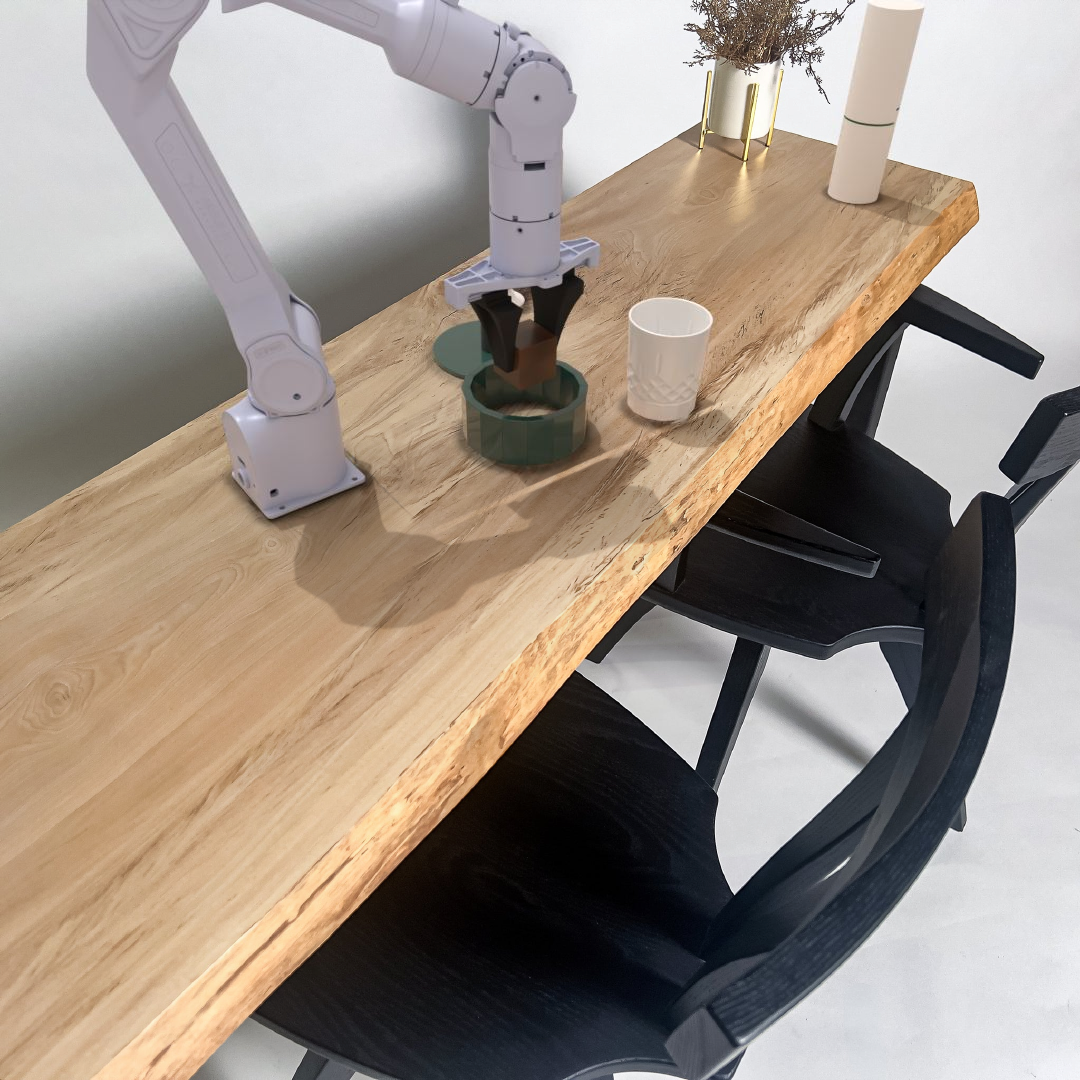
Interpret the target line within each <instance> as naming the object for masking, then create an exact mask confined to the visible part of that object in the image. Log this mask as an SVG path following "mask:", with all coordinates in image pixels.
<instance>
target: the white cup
mask: <svg viewBox="0 0 1080 1080" xmlns="http://www.w3.org/2000/svg"><path fill="white" fill-rule="evenodd" d="M627 320H628V322H627V323H628V324H627V350H626V351H627V353H626V383H627V399H626V400H627V403H626V405H627V406H628V407H629V408H630V410H631V411H632V412H633V413H634V414H636V415H638V416H641V417H643V418H644V419H647V420H653V421H659V422H667V421H672V422H670V423H669V425H673V424H678V423H680V422H683V421H686V420H688V419H689V418H690V417H691V415H692V412H693V410H695V408H696V401H697V396H698V391H699V387H700V385H701V381H702V377H703V371H704V368H705V363H706V358H707V353H708V349H709V342H710V337H711V333H712V327H713V324H714V318H713V315H712V313H711V312H710V311H709V310H708V309H707V308H706V307H704V306H703V305H701V304H699V303H697V302H694V301H691V300H688V299H683V298H678V297H668V296H667V297H665V296H664V297H663V296H662V297H653V298H648V299H644V300H642V301H639V302H637V303H636V304H633V306H631V308H630V309H629V311H628V319H627Z"/></svg>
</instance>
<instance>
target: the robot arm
mask: <svg viewBox="0 0 1080 1080" xmlns="http://www.w3.org/2000/svg"><path fill="white" fill-rule="evenodd" d="M220 1H221V2H220V3H221V13H222V14H229V13H233V12H236V11H239V10H240V11H241V10H243V9H248V8H249V7H254V6H257V5H259V4H262V3H268V4H272V5H276V6H277V7H281V8H284V9H286V10H288V11H291V12H293V13H295V14H298V15H301V16H303V17H306V18H308V19H310V20H314V21H316V22H319V23H321V24H323V25H326V26H328V27H331V28H333V29H335V30H339V31H341V32H343V33H346V34H348V35H351V36H352V37H356V38H358V39H361V40H364V41H366V42H369V43H371V44H373V45H376V46H379V47H381V48H382V50H383V52H384V55H385V58H386V60H387V62H388V65H389V67H390V69H391V71H392V72H393V74H394V75H396V76H398V77H401V78H403V79H404V80H408V81H410V82H412V83H414V84H417V85H419V86H421V87H423V88H426V89H427V90H431V91H432V92H435V93H437V94H440V95H441V96H444V97H446V98H448V99H451V100H453V101H455V102H458V103H460V104H462V105H466V106H467V107H469V108H471V109H474V110H491V111H490V112H489V146H488V151H487V153H488V156H487V157H488V203H489V204H488V205H489V208H488V211H489V212H488V213H489V214H488V216H489V217H488V218H489V255H488V256H486V257H485V258H483V259H481V260H480V261H477V263H475V264H473V265H471V266H469V267H468V268H466V269H465V270H463V271H461V272H459V273H458V274H454V275H452V276H450V277H446V278H444V279H443V283H444V284H443V285H444V287H443V288H444V301H445V302H446V303H447V304H448V305H450V306H451V307H452V308H454V309H456V311H461V310H464V309H467V308H468V307H469V304H470V306H471V308H472V309H473V311H474V313H475V315H476V316H477V318H478V319H477V320H480V322H481V325H482V327H483V329H484V332H485V334H486V337H487V340H488V343H489V346H490V349H491V353H492V357H493V361H494V365H496V366H497V367H499V368H500V369H501V370H503V371H504V372H505V373H509V372H512V371H513V368H514V362H515V343H516V334H517V329H518V324H519V322H521V317H522V315H523V312H524V308H522V306H520V307H519V306H518V305H516V304H515V303H513V302H512V297H511V296H509V295H508V290H510V289H513V290H514V289H519V288H520V289H521V288H528V287H529V288H530V289H529V290H530V293H531V300H532V309H533V321H534V322H536V323H537V324H539V325H540V326H542V327H543V328H545V329H546V330H548V331H549V332H551V333H552V334H554V335H555V336H557V347H558V346H559V343H560V339H561V336H562V333H563V330H564V328H565V325H566V322H567V321H568V319H569V316H570V315H571V313H572V311H573V309H574V308H575V305H576V304H577V302H578V301H579V299H580V298H581V297H582V296H583V294H584V293H585V281H584V280H583V279H582V278H581V277H579V276H577V275H576V269H579V268H583V267H587V268H589V269H593V268H597V267H599V266H600V263H601V262H600V258H601V244H600V243H598V242H597V241H595V240H593V239H591V238H589V237H587V236H584V237H581V238H575V239H570V240H569V239H568V240H563V241H562V240H561V231H562V230H561V229H562V205H563V203H562V201H563V199H562V198H563V175H564V174H563V173H564V149H563V139H564V128H565V126H566V125H567V124H568V123H569V121H570V119H571V118H572V116H573V114H574V112H575V108H576V104H577V99H578V95H577V94H576V93H574V91H573V83H572V78H571V76H570V73H569V70H568V69H567V68H566V66H565V65H564V63H563V62H562V61H561V60H560V59H559V58H558V57H557V56H556V55H555V54H554V53H553V52H552V51H551V50H550V49H549V48H548V47H547V46H546V45H545V44H544V43H543V42H541V41H540V40H539V39H537V38H535V37H533V36H532V34H531V33H530V32H529V31H528V30H523V29H521V28H520V27H519V26H518V25H517V24H515V23H513V22H511V21H510V20H504V21H503V23H502V25H501V24H498V23H496V22H494V21H492V20H490V19H488V18H487V17H484V16H482V15H480V14H478V13H476V12H475V11H474V12H473V11H472V10H470V9H467V8H466V7H464V6H462V5H459V2H460V0H220ZM209 3H210V0H86V45H85V46H86V47H85V51H86V53H85V54H86V55H85V56H86V57H85V71H86V77H87V79H88V81H89V84H90V87H91V90H92V91H93V92H94V94H95V95H96V97H97V99H98V101H99V102H100V104H101V105H102V108H103V109H104V110H105V112H106V114H107V116H108V117H109V119H110V121H111V122H112V124H113V126H114V127H115V129H116V131H117V133H118V134H119V136H120V137H121V140H122V141H123V142H124V144H125V146H126V147H127V149H128V152H130V154H131V156H132V158H133V159H134V161H135V162H136V165H137V166H138V168H139V169H140V171H141V172H142V173H141V174H142V175H143V176H144V178H145V179H146V181H147V183H148V185H149V186H150V188H151V190H152V192H153V193H154V194H155V197H156V198H157V199H158V201H159V203H160V205H161V206H162V208H163V209H164V211H165V213H166V215H167V216H168V218H169V220H170V221H171V223H172V225H173V226H174V228H175V230H176V232H177V233H178V235H179V237H180V238H181V240H182V241H183V243H184V245H185V246H186V249H187V250H188V251H189V253H190V255H191V257H192V258H193V260H194V262H195V264H196V265H197V266H198V268H199V270H200V271H201V274H202V275H203V277H204V279H205V280H206V281H207V283H208V285H209V287H210V288H211V290H212V292H213V293H214V295H215V297H216V298H217V301H219V303H220V305H221V307H222V309H223V311H224V314H225V316H226V319H227V322H228V325H229V328H230V331H231V333H232V336H233V339H234V343H235V345H236V348H237V350H238V352H239V354H240V355H241V357H242V358H243V360H244V362H245V365H246V371H247V373H246V380H247V390H246V391H247V394H246V396H244V398H243V399H241V400H240V401H239V402H238V403H235V404H234V405H233V406H231V407H229V408H227V409H225V410H224V411H223V412H222V415H221V423H222V428H223V431H224V436H225V440H226V446H227V450H228V454H229V459H230V463H231V467H232V472H231V477H232V478H233V479H234V481H235V482H236V483H237V484H238V485H239V487H240V488H241V489H242V490H243V491H244V492H245V494H246V495H247V496H248V497H249V498H250V500H251V501H252V502H253V503H254V504H255V505H256V506H257V507H258V509H259V510H260V511H261V512H262V514H263V515H264V516H265V517H266V518H267V519H271V520H273V519H276V518H278V517H281V516H284V515H286V514H289V513H291V512H294V511H296V510H299V509H301V508H304V507H306V506H309V505H312V504H313V503H317V502H318V501H321V500H324V499H327V498H329V497H331V496H334V495H337V494H339V493H341V492H344V491H346V490H349V489H351V488H353V487H356V486H359V485H361V484H363V483H365V482H366V475H365V474H364V473H363V472H362V471H361V470H360V469H359V468H358V467H357V466H356V465H354V463H353V462H351V461H350V459H348V457H346V453H345V446H344V440H343V439H344V438H343V432H342V425H341V419H340V409H339V404H338V396H337V389H336V382H335V379H334V377H333V375H332V374H330V372H329V368H328V366H327V365H328V364H326V361H325V355H324V350H323V344H322V343H323V342H322V339H321V338H322V337H321V336H322V327H321V322H320V319H319V317H318V314H317V313H316V312H315V311H314V309H313V308H312V307H311V306H310V305H309V304H308V303H307V302H305V301H303V300H302V299H301V298H299V297H298V296H297V295H296V294H295V293H294V292H293V291H292V289H291V288H290V286H289V284H288V282H287V281H286V279H285V278H284V276H283V275H281V273H279V272H278V271H277V270H275V268H274V266H273V264H272V262H271V260H270V259H269V257H268V255H267V253H266V251H265V249H264V247H263V246H262V244H261V242H260V240H259V238H258V236H257V234H256V233H255V231H254V229H253V227H252V225H251V223H250V221H249V219H248V217H247V216H246V214H245V212H244V209H243V208H242V207H241V205H240V202H239V201H238V199H237V196H235V193H234V192H233V190H232V188H231V186H230V184H229V182H228V181H227V179H226V176H225V175H224V173H223V171H222V170H221V168H220V165H219V164H218V161H217V160H216V158H215V156H214V154H213V152H212V151H211V149H210V147H209V145H208V143H207V141H206V139H205V137H204V135H203V133H202V132H201V130H200V128H199V126H198V124H197V123H196V120H195V119H194V117H193V115H192V113H191V112H190V110H189V108H188V106H187V104H186V102H185V100H184V99H183V97H182V95H181V93H180V91H179V89H178V87H177V86H176V83H175V81H174V80H173V78H172V76H171V71H172V68H173V64H174V62H175V58H176V56H177V53H178V49H179V43H180V42H181V41H182V39H183V38H184V37H185V36H186V35H187V34H188V32H189V31H190V30H191V29H192V28H193V26H194V25H195V24H196V23H197V21H198V20H199V19H200V18H201V16H202V15H203V13H204V12H205V10H206V9H207V8H208V5H209Z"/></svg>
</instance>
